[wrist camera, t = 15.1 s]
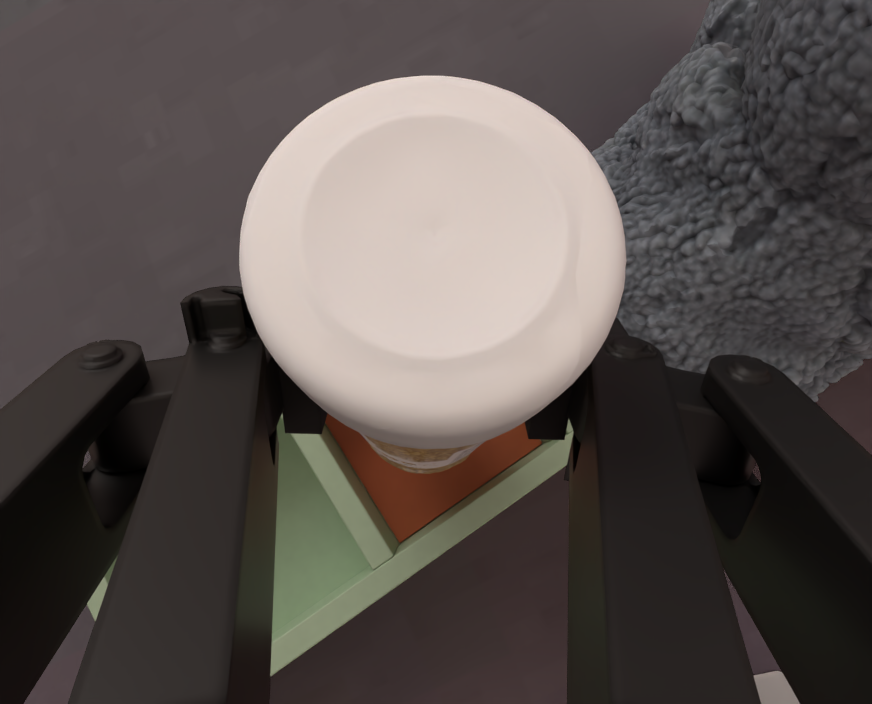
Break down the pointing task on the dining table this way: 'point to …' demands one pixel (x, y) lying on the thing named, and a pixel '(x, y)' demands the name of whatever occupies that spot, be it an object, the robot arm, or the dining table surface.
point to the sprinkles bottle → (432, 263)
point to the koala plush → (754, 193)
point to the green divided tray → (375, 522)
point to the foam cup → (774, 689)
